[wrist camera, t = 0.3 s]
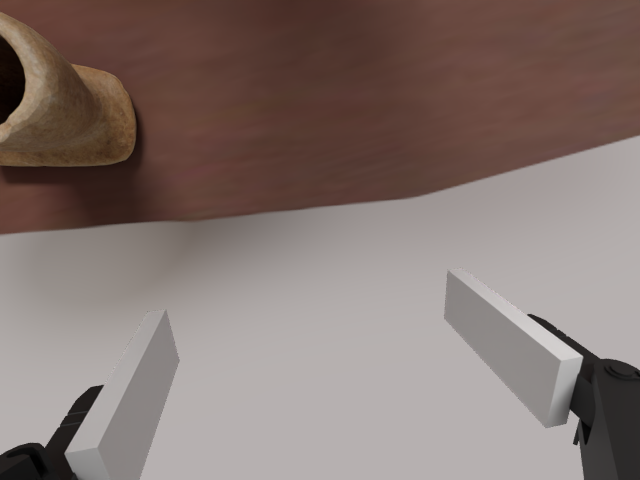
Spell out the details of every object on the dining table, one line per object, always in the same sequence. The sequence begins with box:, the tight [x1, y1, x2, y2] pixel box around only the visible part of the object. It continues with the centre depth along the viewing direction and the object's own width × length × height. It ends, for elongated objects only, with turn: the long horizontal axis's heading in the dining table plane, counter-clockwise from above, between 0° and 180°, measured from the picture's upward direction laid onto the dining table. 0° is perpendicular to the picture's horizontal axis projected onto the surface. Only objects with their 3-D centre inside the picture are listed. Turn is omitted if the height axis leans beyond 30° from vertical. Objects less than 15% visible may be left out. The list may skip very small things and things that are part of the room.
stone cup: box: [0, 12, 136, 167], centre depth 28 cm, size 15×12×15 cm
